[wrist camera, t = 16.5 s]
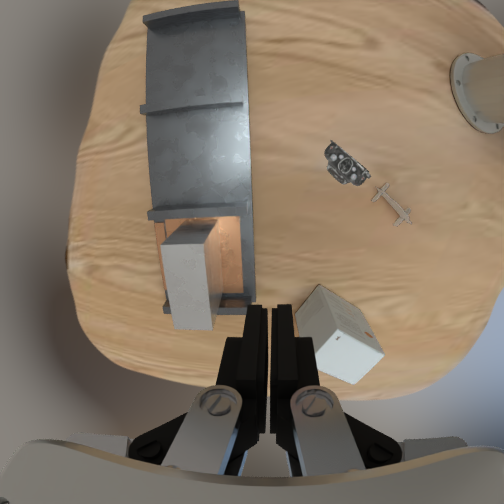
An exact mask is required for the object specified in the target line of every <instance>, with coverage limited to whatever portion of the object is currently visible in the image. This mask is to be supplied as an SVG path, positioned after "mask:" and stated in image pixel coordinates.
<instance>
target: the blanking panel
mask: <svg viewBox="0 0 504 504" xmlns="http://www.w3.org/2000/svg"><path fill="white" fill-rule="evenodd" d="M160 247H161V254H162V261H163V268H164V274H165V280H166V286H167V292H168V298H169V303H170V309H171V314H172V319H173V324H174V329H185V330H213V328H214V324H215V320H216V316H217V312H218V308H219V305H220V301H221V297H222V293H223V290H224V288H223V276H222V263H221V250H220V236H219V221H218V219H217V220H191V221H184V222H183V223H182V224H181V225H180V226H179V227H178V228H177V229H176V230H175V231H174V232H173V233H172V234H171V235H170V236H169V237H168V238H167V239H166V240H165V241H164V242H163V243H162V244H161V245H160Z"/></svg>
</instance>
